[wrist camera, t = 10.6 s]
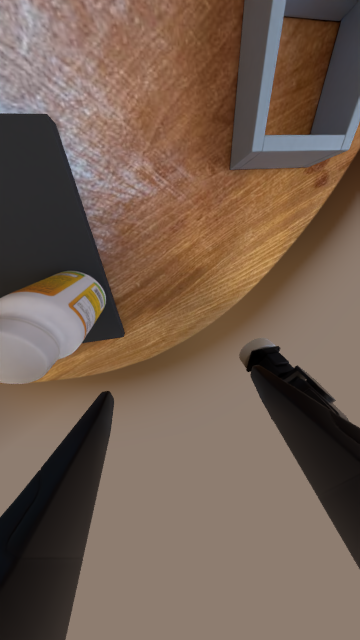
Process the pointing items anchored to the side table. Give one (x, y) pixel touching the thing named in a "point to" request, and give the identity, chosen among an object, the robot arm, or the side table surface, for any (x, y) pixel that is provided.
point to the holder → (257, 79)
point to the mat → (45, 216)
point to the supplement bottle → (46, 324)
